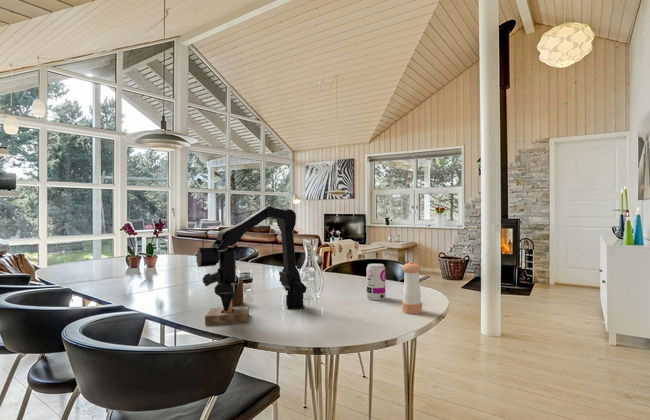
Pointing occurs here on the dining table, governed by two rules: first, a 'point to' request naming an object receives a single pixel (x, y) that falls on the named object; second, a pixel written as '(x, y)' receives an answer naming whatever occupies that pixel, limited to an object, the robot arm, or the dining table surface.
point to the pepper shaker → (411, 289)
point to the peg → (229, 308)
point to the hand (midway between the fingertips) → (227, 307)
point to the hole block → (227, 316)
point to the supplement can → (376, 282)
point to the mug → (238, 294)
